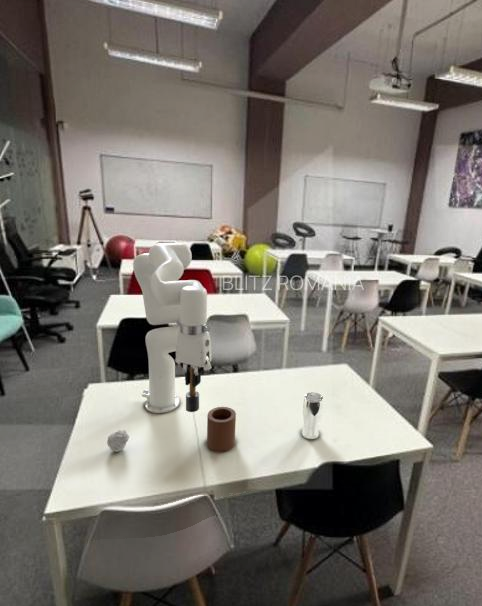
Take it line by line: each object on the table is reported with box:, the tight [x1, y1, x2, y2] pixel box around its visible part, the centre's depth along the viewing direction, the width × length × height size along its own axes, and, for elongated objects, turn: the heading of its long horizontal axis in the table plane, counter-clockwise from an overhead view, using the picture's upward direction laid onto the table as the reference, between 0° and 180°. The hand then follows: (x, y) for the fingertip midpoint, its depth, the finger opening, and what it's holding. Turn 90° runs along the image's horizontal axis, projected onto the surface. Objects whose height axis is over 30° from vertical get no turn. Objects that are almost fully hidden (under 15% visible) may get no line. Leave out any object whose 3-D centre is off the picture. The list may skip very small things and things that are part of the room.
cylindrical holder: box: [206, 406, 237, 453], centre depth 127 cm, size 9×9×11 cm
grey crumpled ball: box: [106, 429, 130, 453], centre depth 121 cm, size 6×7×7 cm
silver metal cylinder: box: [301, 392, 324, 440], centre depth 135 cm, size 7×7×15 cm
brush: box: [185, 365, 200, 413], centre depth 117 cm, size 4×4×14 cm
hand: (192, 383), depth 116 cm, fingers closed on brush
